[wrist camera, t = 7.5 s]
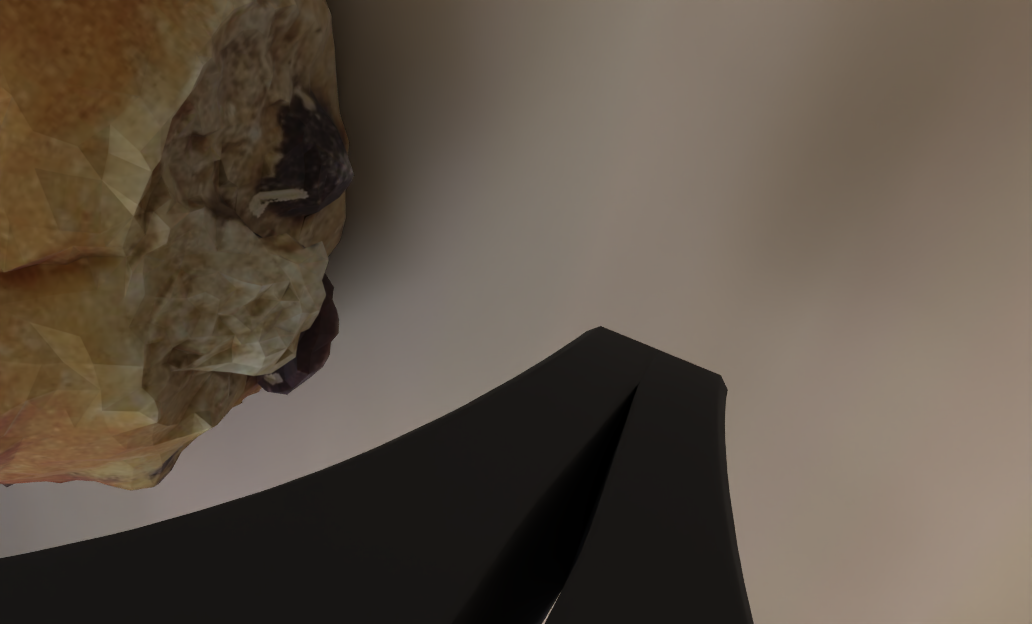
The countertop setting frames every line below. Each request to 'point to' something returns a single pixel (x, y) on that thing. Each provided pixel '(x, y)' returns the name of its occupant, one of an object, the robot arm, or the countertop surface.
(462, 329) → the countertop surface
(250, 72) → the bread roll
